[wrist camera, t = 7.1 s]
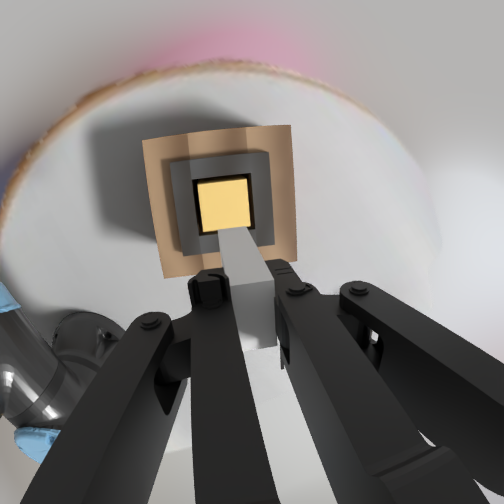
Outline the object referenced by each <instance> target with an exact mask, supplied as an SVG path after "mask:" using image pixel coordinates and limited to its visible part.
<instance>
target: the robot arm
mask: <svg viewBox="0 0 504 504" xmlns="http://www.w3.org/2000/svg"><path fill="white" fill-rule="evenodd" d="M218 238H219V246H220V254H221V262H222V267H220V268H213V269H205V270H200V271H199V273H198V274H197V275H196V276H194V277H192V278H191V279H190V280H189V281H188V283H187V284H188V290H189V295H190V300H191V305H192V311H191V312H190V313H189V314H187V315H185V316H183V317H181V318H178V319H175V320H172V321H171V318H170V317H169V315H167V314H166V313H163V312H148V313H145V314H143V315H141V316H139V317H137V318H136V319H135V320H134V321H133V322H132V323H131V325H130V326H129V327H128V329H127V330H126V332H125V331H124V330H123V329H122V328H121V327H120V326H119V325H117V324H116V323H115V322H113V321H111V320H110V319H108V318H106V317H103V316H101V315H98V314H94V313H88V312H79V313H74V314H71V315H69V316H67V317H66V318H65V319H63V321H62V322H61V323H60V325H59V326H58V328H57V329H56V331H55V334H54V337H53V345H52V349H51V347H50V346H49V345H48V344H47V342H46V341H45V340H44V339H43V337H42V336H41V335H40V334H39V332H38V331H37V330H36V328H35V327H34V326H33V324H32V323H31V322H30V320H29V319H28V318H27V316H26V315H25V313H24V312H23V310H22V309H21V305H20V304H18V303H17V302H16V301H15V299H14V298H13V297H12V295H11V294H10V292H9V291H8V290H7V288H6V287H5V285H4V284H3V283H1V282H0V418H1V417H2V415H3V416H4V417H5V418H7V419H8V420H9V421H10V422H11V423H12V424H13V425H14V426H15V427H16V428H17V429H16V430H15V432H14V435H15V437H14V439H15V443H16V444H17V446H18V447H19V449H20V450H21V451H22V452H23V453H24V454H26V455H27V456H28V457H30V458H31V459H33V460H35V461H36V462H38V463H40V464H41V465H40V467H39V469H38V471H37V472H36V474H35V476H34V478H33V480H32V482H31V483H30V485H29V487H28V489H27V491H26V493H25V495H24V497H23V499H22V500H21V502H20V504H147V503H148V500H149V497H150V494H151V491H152V488H153V485H154V481H155V478H156V475H157V472H158V469H159V466H160V463H161V460H162V457H163V454H164V451H165V448H166V445H167V442H168V439H169V436H170V433H171V430H172V427H173V424H174V421H175V418H176V415H177V412H178V409H179V406H180V404H181V401H182V398H183V395H184V392H185V389H186V386H187V380H188V379H187V378H189V377H191V428H192V453H193V473H194V488H195V501H196V504H281V503H280V501H279V498H278V495H277V491H276V487H275V484H274V480H273V476H272V472H271V468H270V465H269V461H268V457H267V452H266V449H265V445H264V440H263V437H262V432H261V428H260V424H259V420H258V416H257V412H256V407H255V403H254V399H253V395H252V390H251V386H250V382H249V377H248V373H247V369H246V364H245V360H244V355H243V351H249V350H255V349H261V348H267V347H273V346H277V336H278V339H279V341H280V359H281V369H284V365H285V368H286V370H287V373H288V376H289V378H290V381H291V384H292V386H293V389H294V391H295V394H296V397H297V399H298V402H299V404H300V407H301V410H302V413H303V415H304V418H305V420H306V423H307V426H308V428H309V431H310V434H311V436H312V439H313V441H314V444H315V447H316V449H317V451H318V454H319V457H320V459H321V462H322V465H323V467H324V470H325V472H326V475H327V478H328V480H329V482H330V485H331V488H332V491H333V493H334V496H335V498H336V501H337V503H338V504H490V503H489V502H488V500H487V499H486V497H485V496H484V494H483V493H482V491H481V489H480V488H479V486H478V485H477V483H476V482H475V481H474V479H475V480H476V481H477V482H479V483H480V484H481V485H483V486H484V487H485V488H487V489H489V490H490V491H492V492H494V493H496V494H498V495H501V496H503V497H504V364H503V363H502V362H500V361H499V360H497V359H495V358H494V357H492V356H491V355H489V354H487V353H486V352H484V351H483V350H481V349H480V348H478V347H476V346H475V345H473V344H472V343H470V342H468V341H467V340H465V339H463V338H462V337H460V336H459V335H457V334H455V333H453V332H452V331H450V330H449V329H447V328H445V327H444V326H442V325H441V324H439V323H437V322H435V321H434V320H432V319H430V318H429V317H427V316H426V315H424V314H422V313H420V312H419V311H417V310H415V309H414V308H412V307H410V306H409V305H407V304H405V303H404V302H402V301H400V300H398V299H397V298H395V297H393V296H391V295H390V294H388V293H386V292H385V291H383V290H381V289H379V288H378V287H376V286H374V285H372V284H370V283H367V282H362V281H352V282H348V283H345V284H343V285H342V286H341V288H340V295H322V294H320V293H319V291H318V290H317V289H316V287H314V286H313V285H312V284H309V283H306V282H302V281H301V280H300V278H299V277H298V275H297V274H296V273H295V271H294V270H293V268H292V267H291V266H290V264H289V263H288V262H287V261H285V260H283V259H281V258H280V259H273V260H266V261H264V259H263V257H262V255H261V254H260V252H259V250H258V248H257V246H256V244H255V242H254V240H253V238H252V237H251V235H250V233H249V231H248V229H247V227H246V226H243V227H234V228H226V229H218ZM372 330H373V331H374V332H376V333H377V334H378V340H377V342H376V341H374V340H373V339H372V338H371V336H372ZM418 430H419V431H420V432H421V433H422V434H423V435H424V436H425V437H426V438H428V439H429V440H430V441H431V442H432V443H433V444H434V445H436V447H432V446H430V445H429V444H428V443H427V442H426V441H425V440H424V438H423V437H422V435H421V434H420V433H419V431H418Z"/></svg>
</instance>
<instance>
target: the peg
mask: <svg viewBox="0 0 504 504" xmlns="http://www.w3.org/2000/svg"><path fill="white" fill-rule="evenodd" d="M198 193H199V201H200V209H201V217H202V225H203V232H206V231H214V230H218V229H226V228H234V227H243V226H246V227H247V226H251V225H250V213H249V202H248V190H247V179H246V178H245V177H243V176H242V175H241V174H234V175H225V176H216V177H208V178H200V179H199V180H198Z"/></svg>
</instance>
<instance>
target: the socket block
mask: <svg viewBox="0 0 504 504" xmlns="http://www.w3.org/2000/svg"><path fill="white" fill-rule="evenodd" d="M142 144H143V153H144V162H145V170H146V177H147V185H148V192H149V198H150V205H151V211H152V217H153V223H154V229H155V235H156V240H157V245H158V251H159V256H160V261H161V266H162V271H163V275H164V279H165V278H173V277H181V276H189V275H197V274H198V273H199V271H200V270H205V269H213V268H220V267H222V262H221V254H220V246H219V238H218V230H214V231H206V232H203V225H202V217H201V211H200V203H199V195H198V186H197V179H200V178H208V177H216V176H225V175H234V174H241V175H242V176H243V177H245V178H246V179H247V190H248V202H249V213H250V225H251V226H247V229H248V231H249V233H250V235H251V237H252V238H253V240H254V242H255V244H256V246H257V248H258V250H259V252H260V254H261V255H262V257H263V259H264V261H266V260H273V259H280V258H281V259H283V260H285V261H287V262H294V261H297V236H296V209H295V187H294V169H293V152H292V137H291V125H273V126H255V127H241V128H230V129H219V130H210V131H201V132H193V133H186V134H178V135H172V136H165V137H159V138H153V139H147V140H142Z"/></svg>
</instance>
